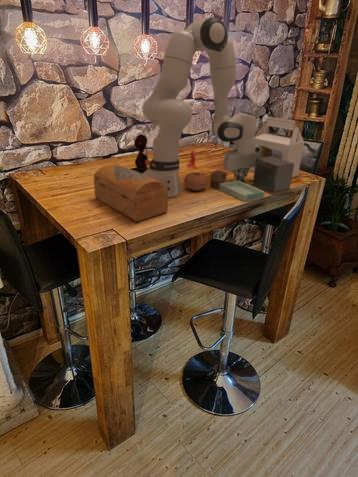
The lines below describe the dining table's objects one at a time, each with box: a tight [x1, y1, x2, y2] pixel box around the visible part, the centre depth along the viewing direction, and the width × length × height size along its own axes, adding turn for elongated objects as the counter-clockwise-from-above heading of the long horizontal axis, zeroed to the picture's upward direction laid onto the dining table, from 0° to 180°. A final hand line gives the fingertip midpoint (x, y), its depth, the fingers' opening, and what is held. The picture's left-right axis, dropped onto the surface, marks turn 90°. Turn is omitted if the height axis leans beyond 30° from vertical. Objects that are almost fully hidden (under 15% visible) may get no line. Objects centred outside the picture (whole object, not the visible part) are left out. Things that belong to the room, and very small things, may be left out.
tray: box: [219, 180, 266, 203], centre depth 157 cm, size 11×18×3 cm, turn 30°
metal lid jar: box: [235, 168, 246, 183], centre depth 171 cm, size 4×4×7 cm
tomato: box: [183, 171, 209, 192], centre depth 160 cm, size 11×11×8 cm
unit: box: [249, 155, 294, 196], centre depth 163 cm, size 12×16×13 cm
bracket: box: [186, 150, 197, 169], centre depth 195 cm, size 12×4×8 cm, turn 7°
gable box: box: [249, 116, 305, 178], centre depth 182 cm, size 22×13×28 cm, turn 41°
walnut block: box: [210, 170, 227, 191], centre depth 163 cm, size 5×5×7 cm
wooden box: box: [93, 163, 169, 222], centre depth 139 cm, size 30×16×14 cm, turn 40°
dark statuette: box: [130, 134, 149, 174], centre depth 172 cm, size 15×15×20 cm
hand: (240, 177), depth 171 cm, fingers closed on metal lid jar, 4 cm apart
